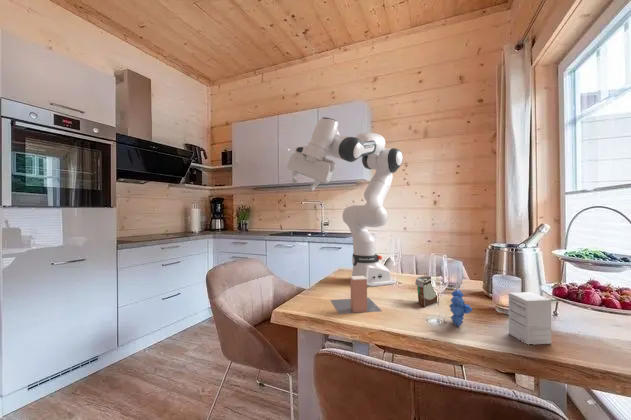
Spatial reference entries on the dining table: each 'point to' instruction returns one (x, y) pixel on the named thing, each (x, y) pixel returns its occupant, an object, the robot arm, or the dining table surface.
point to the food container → (425, 291)
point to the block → (358, 293)
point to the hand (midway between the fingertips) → (302, 186)
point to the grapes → (458, 307)
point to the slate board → (345, 306)
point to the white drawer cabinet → (530, 318)
